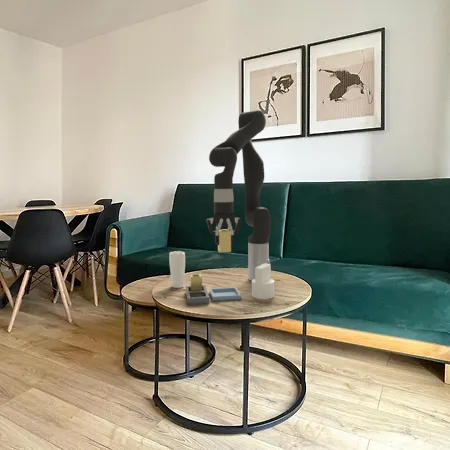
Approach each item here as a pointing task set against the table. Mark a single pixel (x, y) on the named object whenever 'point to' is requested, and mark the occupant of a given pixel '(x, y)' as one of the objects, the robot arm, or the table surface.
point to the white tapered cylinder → (177, 268)
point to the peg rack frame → (197, 296)
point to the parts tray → (225, 294)
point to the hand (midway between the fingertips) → (224, 244)
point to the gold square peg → (224, 240)
